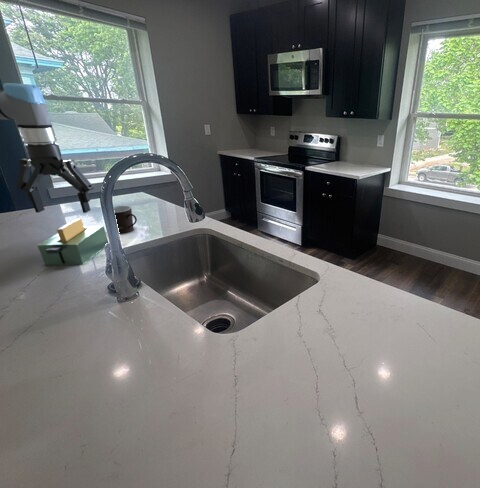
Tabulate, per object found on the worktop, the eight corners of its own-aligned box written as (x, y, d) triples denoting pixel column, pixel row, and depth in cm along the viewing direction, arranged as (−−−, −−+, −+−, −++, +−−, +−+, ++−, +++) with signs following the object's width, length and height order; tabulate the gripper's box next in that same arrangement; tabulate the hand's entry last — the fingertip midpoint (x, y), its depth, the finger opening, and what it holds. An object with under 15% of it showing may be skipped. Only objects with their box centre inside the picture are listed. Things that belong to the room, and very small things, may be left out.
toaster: (46, 267, 95) (37, 245, 92) (77, 246, 110) (70, 226, 106) (83, 266, 97) (76, 244, 93) (109, 245, 111) (103, 225, 108)
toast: (67, 260, 98) (56, 229, 94) (85, 247, 107) (76, 218, 103) (73, 259, 99) (62, 229, 94) (90, 246, 108) (81, 218, 103)
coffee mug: (109, 231, 123) (102, 208, 118) (132, 226, 128) (127, 204, 124) (118, 240, 116) (111, 216, 111) (142, 234, 121) (136, 211, 117)
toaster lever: (47, 253, 91) (45, 250, 90) (52, 250, 93) (51, 246, 92) (57, 253, 91) (56, 249, 91) (63, 249, 93) (61, 246, 93)
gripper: (94, 143, 93) (111, 208, 102) (3, 139, 89) (29, 207, 98) (80, 146, 86) (99, 215, 95) (-20, 142, 82) (10, 214, 91)
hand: (64, 211), depth 96 cm, fingers open, 13 cm apart
